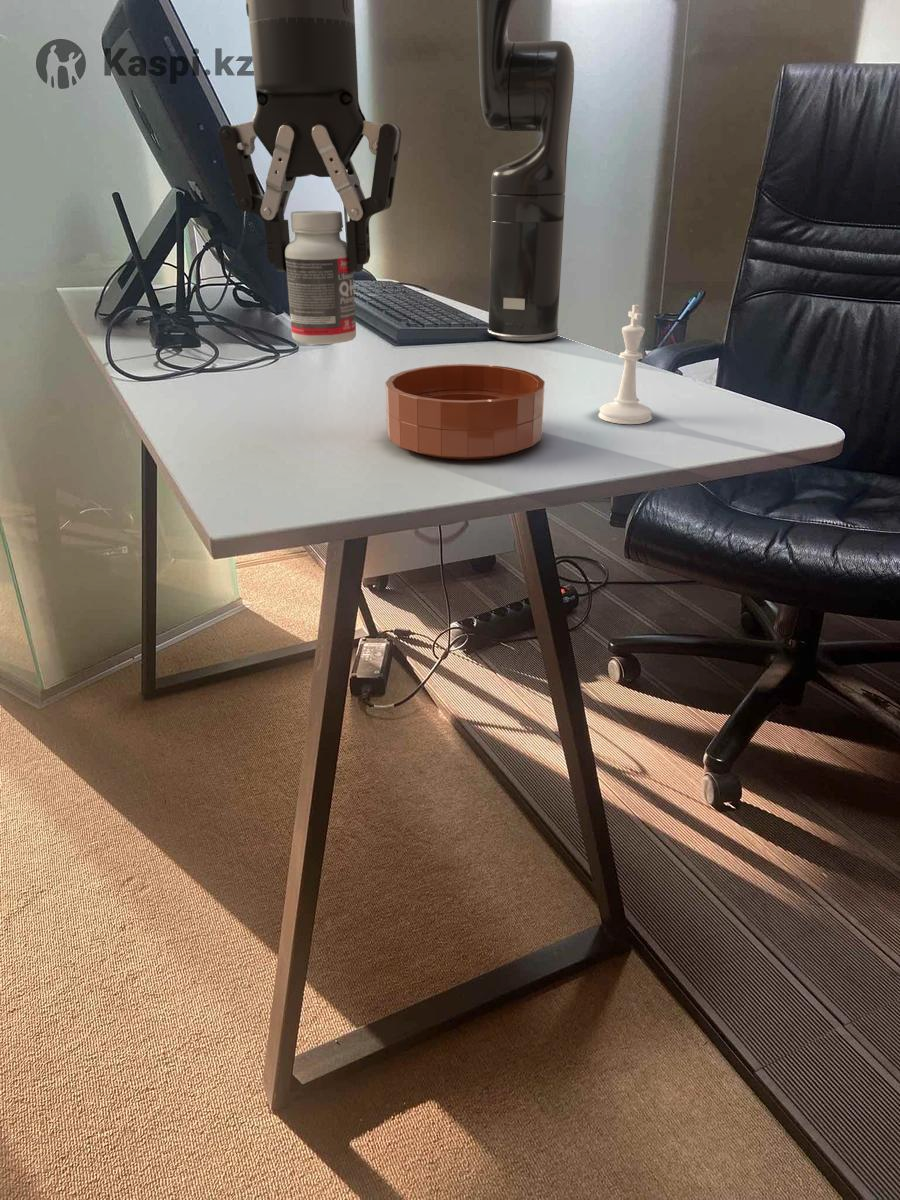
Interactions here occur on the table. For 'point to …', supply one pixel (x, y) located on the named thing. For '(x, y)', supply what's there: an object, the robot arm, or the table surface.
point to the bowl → (464, 410)
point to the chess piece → (628, 380)
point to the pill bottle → (319, 280)
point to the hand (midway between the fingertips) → (319, 269)
